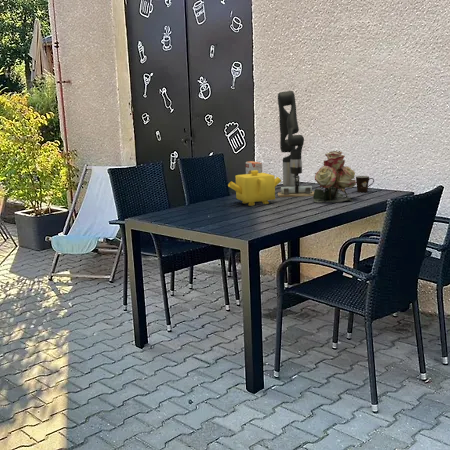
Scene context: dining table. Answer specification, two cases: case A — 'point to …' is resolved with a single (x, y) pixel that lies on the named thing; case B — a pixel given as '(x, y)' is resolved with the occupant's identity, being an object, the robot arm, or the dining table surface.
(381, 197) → the dining table surface
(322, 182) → the rose bouquet
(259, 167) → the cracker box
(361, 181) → the coffee mug
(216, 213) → the dining table surface
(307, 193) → the clip board
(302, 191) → the rod
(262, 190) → the yellow boxy teapot
